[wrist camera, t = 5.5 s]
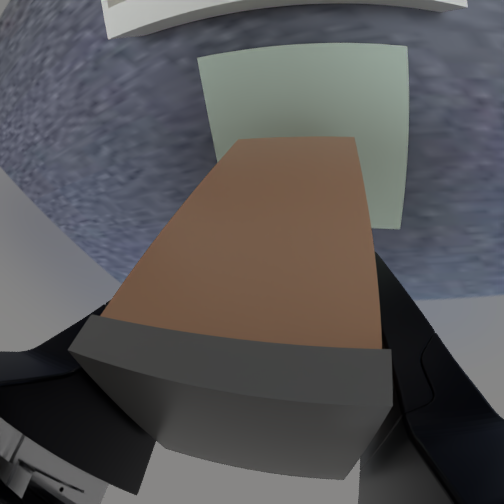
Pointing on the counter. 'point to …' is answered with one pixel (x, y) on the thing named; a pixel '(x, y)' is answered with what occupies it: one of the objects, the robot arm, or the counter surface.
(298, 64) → the mat
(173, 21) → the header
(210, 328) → the tan rectangular block
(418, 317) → the robot arm
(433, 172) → the counter surface
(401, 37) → the counter surface
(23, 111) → the counter surface
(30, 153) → the counter surface
